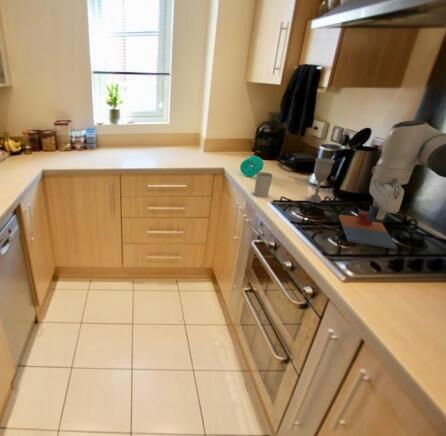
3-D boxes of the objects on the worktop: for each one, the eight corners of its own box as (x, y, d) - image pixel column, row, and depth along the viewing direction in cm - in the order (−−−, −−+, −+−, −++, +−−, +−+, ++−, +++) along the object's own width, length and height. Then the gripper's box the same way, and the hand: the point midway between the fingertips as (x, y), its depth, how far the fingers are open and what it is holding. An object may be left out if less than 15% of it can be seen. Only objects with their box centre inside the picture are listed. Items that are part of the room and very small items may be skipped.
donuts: (238, 175, 175) (240, 157, 171) (244, 171, 182) (247, 154, 178) (256, 178, 169) (259, 160, 165) (262, 174, 176) (265, 156, 172)
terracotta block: (368, 221, 117) (372, 211, 115) (371, 226, 113) (374, 215, 112) (355, 219, 118) (358, 210, 116) (357, 224, 115) (360, 214, 113)
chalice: (302, 199, 141) (311, 159, 133) (311, 196, 144) (321, 157, 136) (317, 204, 135) (328, 163, 127) (327, 201, 138) (338, 161, 130)
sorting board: (379, 222, 118) (380, 219, 118) (396, 249, 100) (397, 246, 100) (338, 216, 123) (339, 214, 123) (347, 241, 105) (348, 238, 105)
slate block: (381, 218, 105) (385, 207, 103) (384, 223, 102) (388, 212, 100) (366, 216, 107) (370, 205, 105) (369, 221, 103) (373, 210, 102)
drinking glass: (269, 193, 148) (273, 173, 144) (267, 198, 143) (272, 177, 138) (253, 191, 151) (257, 171, 147) (252, 196, 145) (255, 175, 141)
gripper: (415, 186, 88) (398, 230, 94) (394, 168, 105) (381, 206, 111) (387, 183, 91) (372, 226, 96) (371, 166, 107) (359, 203, 113)
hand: (376, 215), depth 104 cm, fingers closed on slate block, 4 cm apart
